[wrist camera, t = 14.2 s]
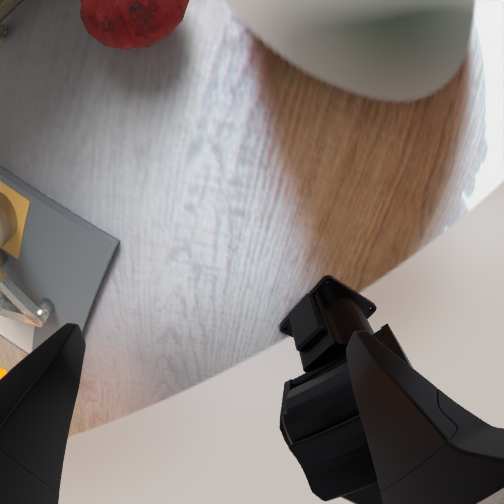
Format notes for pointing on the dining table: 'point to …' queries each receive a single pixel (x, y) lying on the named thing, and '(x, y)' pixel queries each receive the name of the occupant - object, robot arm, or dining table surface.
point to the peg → (7, 220)
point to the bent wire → (20, 301)
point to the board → (51, 262)
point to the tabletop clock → (6, 13)
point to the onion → (131, 20)
